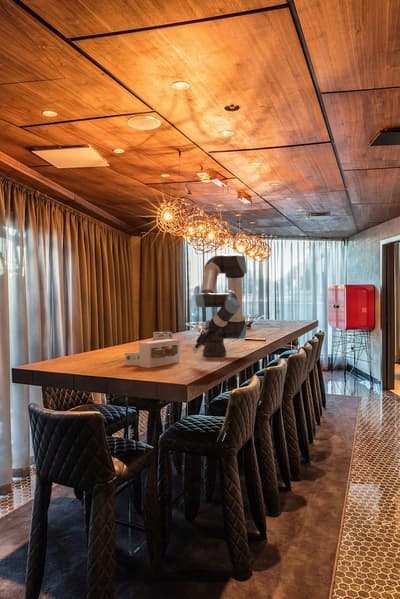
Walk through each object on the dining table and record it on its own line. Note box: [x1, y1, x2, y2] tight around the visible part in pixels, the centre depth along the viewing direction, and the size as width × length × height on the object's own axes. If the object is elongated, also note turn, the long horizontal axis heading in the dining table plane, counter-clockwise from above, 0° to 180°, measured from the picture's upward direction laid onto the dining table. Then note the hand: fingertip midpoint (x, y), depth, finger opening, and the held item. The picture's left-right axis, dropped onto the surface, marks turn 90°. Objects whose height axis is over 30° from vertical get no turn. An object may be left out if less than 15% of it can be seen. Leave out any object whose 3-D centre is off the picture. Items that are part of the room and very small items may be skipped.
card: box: [124, 351, 139, 366], centre depth 257 cm, size 10×1×7 cm, turn 98°
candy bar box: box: [152, 331, 173, 341], centre depth 279 cm, size 11×5×16 cm, turn 76°
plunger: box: [151, 348, 165, 358], centre depth 250 cm, size 4×9×4 cm, turn 51°
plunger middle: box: [162, 347, 175, 357], centre depth 256 cm, size 4×9×4 cm, turn 51°
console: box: [138, 338, 180, 369], centre depth 260 cm, size 24×8×13 cm, turn 141°
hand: (194, 351), depth 254 cm, fingers closed
